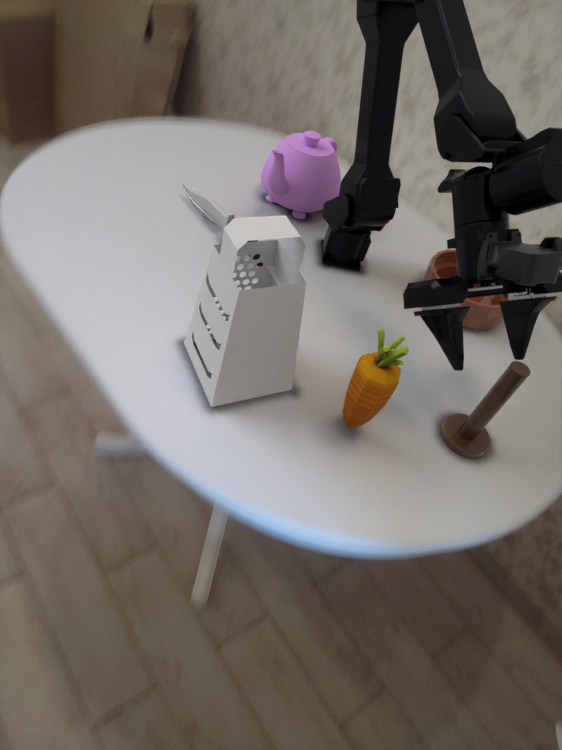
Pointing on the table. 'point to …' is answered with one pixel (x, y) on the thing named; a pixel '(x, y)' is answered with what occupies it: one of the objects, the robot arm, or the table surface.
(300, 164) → the teapot
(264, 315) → the grater
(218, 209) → the knife
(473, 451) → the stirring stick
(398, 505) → the table surface
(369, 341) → the table surface
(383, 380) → the carrot
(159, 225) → the table surface
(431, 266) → the bowl
